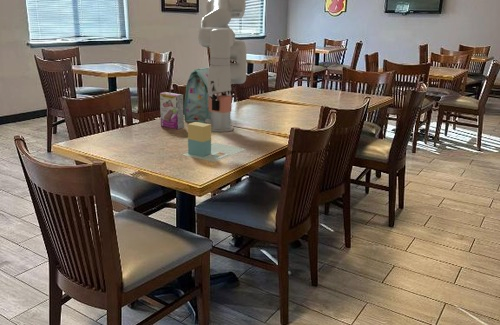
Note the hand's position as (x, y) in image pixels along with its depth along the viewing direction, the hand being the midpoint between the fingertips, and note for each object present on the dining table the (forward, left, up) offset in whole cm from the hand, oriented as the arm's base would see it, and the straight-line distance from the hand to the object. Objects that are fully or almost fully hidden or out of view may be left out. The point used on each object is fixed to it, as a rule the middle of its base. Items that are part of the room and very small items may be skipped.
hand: (219, 108), depth 181 cm
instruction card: (+3, -5, -17) cm, 18 cm away
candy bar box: (-43, +20, -18) cm, 51 cm away
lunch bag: (-42, +45, -18) cm, 64 cm away
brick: (0, 0, -1) cm, 1 cm away
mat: (-1, -2, -18) cm, 18 cm away
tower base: (-4, -8, -17) cm, 19 cm away
